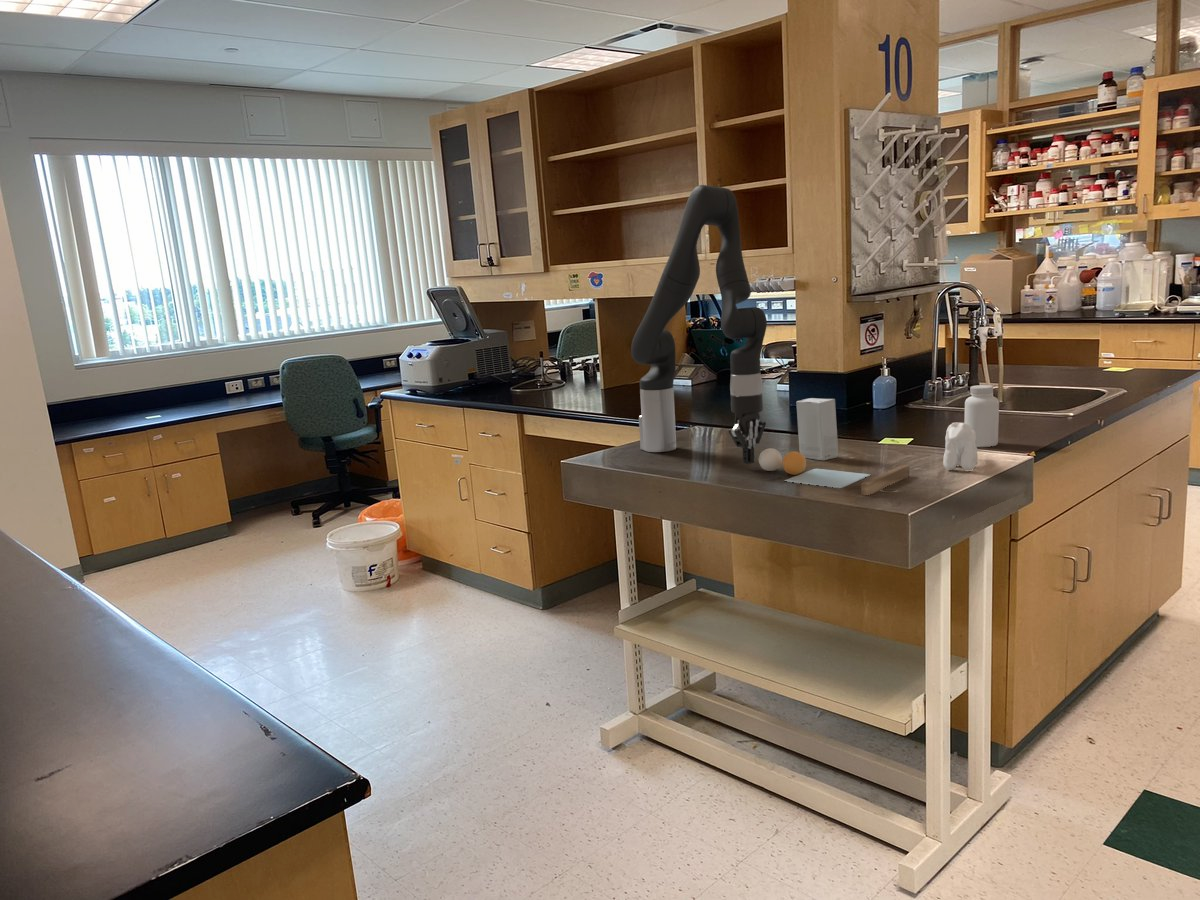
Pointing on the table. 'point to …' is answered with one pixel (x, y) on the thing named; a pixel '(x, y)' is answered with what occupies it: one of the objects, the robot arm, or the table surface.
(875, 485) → the stopper bar
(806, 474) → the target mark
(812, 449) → the skincare box
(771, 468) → the cue ball
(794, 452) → the object ball
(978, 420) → the pill bottle
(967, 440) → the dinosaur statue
